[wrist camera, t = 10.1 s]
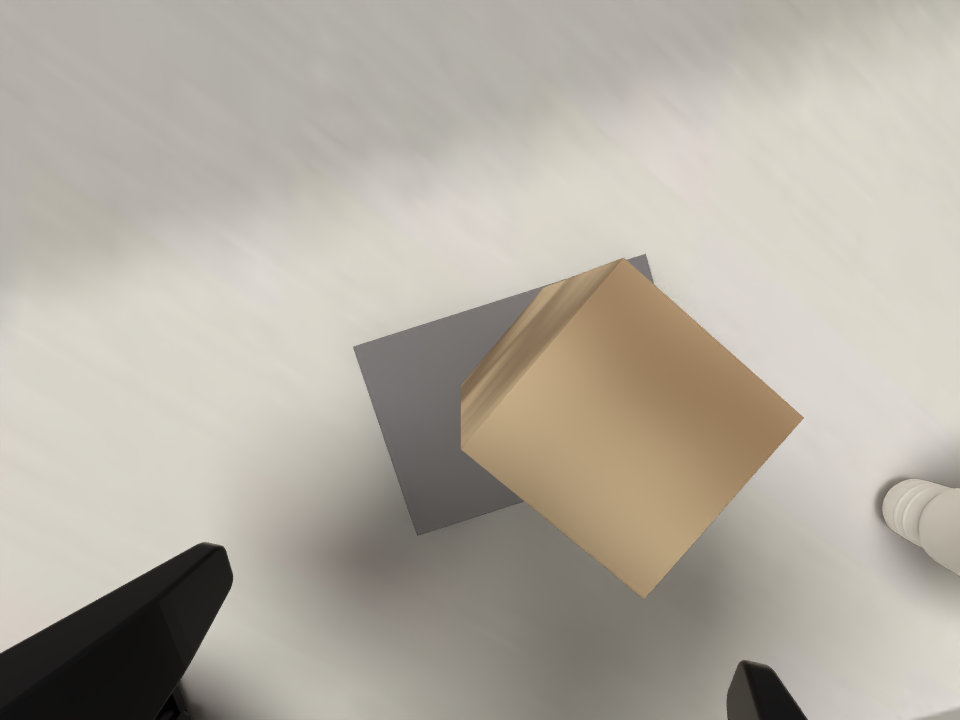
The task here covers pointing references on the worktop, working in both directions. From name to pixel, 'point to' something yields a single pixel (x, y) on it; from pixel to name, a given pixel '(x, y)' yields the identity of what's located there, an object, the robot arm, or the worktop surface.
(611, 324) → the oak block
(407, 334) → the charcoal mat
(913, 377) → the worktop surface
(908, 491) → the lightbulb
